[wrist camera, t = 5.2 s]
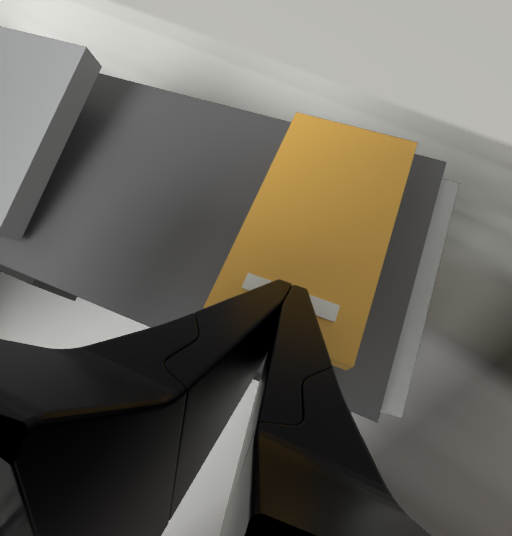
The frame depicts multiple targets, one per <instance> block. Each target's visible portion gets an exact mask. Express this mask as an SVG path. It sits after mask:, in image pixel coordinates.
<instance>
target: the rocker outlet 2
mask: <svg viewBox="0 0 512 536" xmlns="http://www.w3.org/2000/svg"><path fill="white" fill-rule="evenodd" d="M417 143H418V142H414V141H410V140H406V139H402V138H398V137H394V136H390V135H386V134H382V133H377V132H373V131H369V130H365V129H361V128H357V127H353V126H349V125H345V124H341V123H337V122H333V121H329V120H325V119H321V118H317V117H313V116H309V115H305V114H301V113H297V112H296V114H295V116H294V118H293V120H292V122H291V124H290V126H289V129H288V131H287V133H286V135H285V137H284V139H283V141H282V143H281V145H280V148H279V150H278V152H277V154H276V156H275V158H274V160H273V162H272V164H271V166H270V169H269V171H268V173H267V175H266V177H265V179H264V181H263V183H262V185H261V187H260V190H259V192H258V194H257V196H256V198H255V200H254V202H253V204H252V206H251V209H250V211H249V213H248V215H247V217H246V219H245V221H244V223H243V225H242V227H241V230H240V232H239V234H238V236H237V238H236V240H235V242H234V244H233V246H232V248H231V251H230V253H229V255H228V257H227V259H226V261H225V263H224V265H223V267H222V269H221V272H220V274H219V276H218V278H217V280H216V282H215V284H214V286H213V288H212V291H211V293H210V295H209V297H208V299H207V301H206V303H205V305H204V307H203V308H207V307H209V306H212V305H214V304H217V303H219V302H222V301H224V300H227V299H229V298H232V297H234V296H237V295H239V294H242V293H245V292H247V291H250V290H252V289H255V288H257V287H260V286H262V285H265V284H267V283H270V282H272V281H275V280H278V279H281V280H283V281H286V282H289V283H291V284H292V286H293V285H297V286H300V287H303V288H306V289H307V290H308V293H309V296H310V299H311V302H312V305H313V308H314V311H315V314H316V317H317V320H318V323H319V326H320V329H321V332H322V335H323V338H324V341H325V344H326V347H327V350H328V353H329V356H330V359H331V362H332V365H333V366H336V367H338V368H341V369H343V370H348V369H350V368H353V367H354V364H355V360H356V357H357V353H358V350H359V346H360V343H361V339H362V336H363V332H364V329H365V325H366V322H367V318H368V315H369V311H370V308H371V304H372V301H373V297H374V294H375V290H376V287H377V283H378V280H379V276H380V273H381V269H382V266H383V262H384V259H385V255H386V252H387V248H388V245H389V241H390V238H391V234H392V230H393V227H394V223H395V220H396V216H397V213H398V209H399V206H400V202H401V199H402V195H403V192H404V188H405V185H406V181H407V178H408V174H409V171H410V167H411V164H412V160H413V157H414V153H415V150H416V146H417Z"/></svg>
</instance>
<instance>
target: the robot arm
mask: <svg viewBox="0 0 512 536" xmlns="http://www.w3.org/2000/svg"><path fill="white" fill-rule="evenodd" d="M266 355H267V356H266ZM265 357H266V359H265ZM264 359H265V363H264V366H263V370H262V374H261V378H260V381H259V385H258V389H257V393H256V397H255V401H254V405H253V408H252V412H251V416H250V420H249V424H248V428H247V432H246V436H245V439H244V443H243V447H242V451H241V455H240V459H239V463H238V466H237V470H236V474H235V478H234V482H233V486H232V490H231V493H230V497H229V501H228V505H227V509H226V513H225V517H224V520H223V524H222V528H221V532H220V536H431V535H430V534H429V533H428V532H426V531H425V530H424V529H423V528H422V527H421V526H419V525H418V524H417V523H416V522H415V521H414V520H412V519H411V518H410V517H409V516H408V515H407V514H406V513H405V512H404V511H403V510H402V508H401V507H400V506H399V505H398V503H397V502H396V501H395V499H394V498H393V496H392V495H391V493H390V491H389V490H388V488H387V486H386V485H385V483H384V481H383V479H382V477H381V475H380V473H379V471H378V469H377V467H376V465H375V463H374V461H373V458H372V456H371V454H370V452H369V450H368V448H367V446H366V444H365V442H364V440H363V438H362V436H361V434H360V432H359V430H358V427H357V425H356V423H355V421H354V419H353V417H352V415H351V412H350V410H349V408H348V406H347V404H346V401H345V399H344V397H343V394H342V391H341V389H340V386H339V383H338V380H337V377H336V374H335V371H334V369H333V365H332V362H331V359H330V356H329V353H328V350H327V347H326V344H325V341H324V338H323V335H322V332H321V329H320V326H319V323H318V320H317V317H316V314H315V311H314V308H313V305H312V302H311V299H310V296H309V293H308V290H307V289H306V288H303V287H300V286H297V285H293V286H292V284H291V283H289V282H286V281H283V280H281V279H278V280H275V281H272V282H270V283H267V284H265V285H262V286H260V287H257V288H255V289H252V290H250V291H247V292H245V293H242V294H239V295H237V296H234V297H232V298H229V299H227V300H224V301H222V302H219V303H217V304H214V305H212V306H209V307H207V308H204V309H202V310H199V311H196V312H195V314H194V313H191V314H189V315H186V316H184V317H181V318H178V319H175V320H173V321H170V322H167V323H164V324H161V325H158V326H155V327H151V328H148V329H145V330H142V331H138V332H135V333H131V334H127V335H124V336H120V337H117V338H113V339H110V340H106V341H103V342H99V343H96V344H92V345H88V346H84V347H80V348H73V349H50V348H44V347H38V346H33V345H28V344H23V343H18V342H12V341H7V340H2V339H0V536H161V535H162V533H163V531H164V530H165V528H166V526H167V525H168V521H169V520H170V519H171V518H172V516H173V514H174V512H175V511H176V509H177V507H178V506H179V504H180V502H181V500H182V499H183V497H184V495H185V494H186V492H187V490H188V489H189V487H190V485H191V483H192V482H193V480H194V478H195V477H196V475H197V473H198V472H199V470H200V468H201V466H202V465H203V463H204V461H205V460H206V458H207V456H208V454H209V453H210V451H211V449H212V448H213V446H214V444H215V443H216V441H217V439H218V437H219V436H220V434H221V432H222V431H223V429H224V427H225V426H226V424H227V422H228V420H229V419H230V417H231V415H232V414H233V412H234V410H235V409H236V407H237V405H238V403H239V402H240V400H241V398H242V397H243V395H244V393H245V391H246V390H247V388H248V386H249V385H250V383H251V381H252V380H253V378H254V376H255V374H256V373H257V371H258V369H259V368H260V366H261V364H262V362H263V361H264Z"/></svg>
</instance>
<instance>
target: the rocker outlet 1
mask: <svg viewBox="0 0 512 536" xmlns="http://www.w3.org/2000/svg"><path fill="white" fill-rule="evenodd" d="M101 67H102V66H101V65H100V64H99V62H98V61H97V60H96V59H95V57H94V56H93V55H92V54H91V52H90V51H89V50H88V48H87V47H85V46H80V45H76V44H72V43H68V42H64V41H59V40H55V39H51V38H47V37H43V36H39V35H34V34H30V33H26V32H22V31H18V30H13V29H9V28H5V27H1V26H0V236H3V237H6V238H10V239H13V240H17V241H21V239H22V236H23V234H24V232H25V230H26V228H27V226H28V224H29V221H30V219H31V217H32V215H33V213H34V211H35V209H36V206H37V204H38V202H39V200H40V198H41V196H42V194H43V191H44V189H45V187H46V185H47V183H48V181H49V179H50V176H51V174H52V172H53V170H54V168H55V166H56V164H57V161H58V159H59V157H60V155H61V153H62V151H63V149H64V146H65V144H66V142H67V140H68V138H69V136H70V134H71V131H72V129H73V127H74V125H75V123H76V121H77V119H78V116H79V114H80V112H81V110H82V108H83V106H84V104H85V101H86V99H87V97H88V95H89V93H90V91H91V89H92V86H93V84H94V82H95V80H96V78H97V76H98V74H99V71H100V69H101Z"/></svg>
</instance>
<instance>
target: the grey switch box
mask: <svg viewBox="0 0 512 536" xmlns="http://www.w3.org/2000/svg"><path fill="white" fill-rule="evenodd" d="M290 124H291V122H287V121H284V120H280V119H276V118H272V117H268V116H264V115H260V114H256V113H252V112H248V111H244V110H241V109H237V108H233V107H229V106H225V105H221V104H217V103H213V102H209V101H205V100H201V99H197V98H194V97H190V96H186V95H182V94H178V93H174V92H170V91H166V90H162V89H158V88H154V87H151V86H147V85H143V84H139V83H135V82H131V81H127V80H123V79H119V78H115V77H111V76H107V75H104V74H100V73H99V74H98V76H97V78H96V80H95V82H94V84H93V86H92V89H91V91H90V93H89V95H88V97H87V99H86V101H85V104H84V106H83V108H82V110H81V112H80V114H79V116H78V119H77V121H76V123H75V125H74V127H73V129H72V131H71V134H70V136H69V138H68V140H67V142H66V144H65V146H64V149H63V151H62V153H61V155H60V157H59V159H58V161H57V164H56V166H55V168H54V170H53V172H52V174H51V176H50V179H49V181H48V183H47V185H46V187H45V189H44V191H43V194H42V196H41V198H40V200H39V202H38V204H37V206H36V209H35V211H34V213H33V215H32V217H31V219H30V221H29V224H28V226H27V228H26V230H25V232H24V234H23V236H22V239H21V241H17V240H13V239H10V238H6V237H3V236H0V271H1V272H3V273H6V274H8V275H10V276H13V277H15V278H17V279H20V280H22V281H24V282H27V283H29V284H31V285H34V286H37V287H39V288H42V289H45V290H47V291H50V292H52V293H55V294H58V295H60V296H63V297H66V298H68V299H71V300H73V301H75V300H76V298H77V297H80V298H82V299H85V300H87V301H89V302H92V303H94V304H97V305H99V306H101V307H104V308H106V309H108V310H111V311H113V312H116V313H118V314H120V315H123V316H125V317H127V318H130V319H132V320H135V321H137V322H139V323H142V324H144V325H146V326H149V327H155V326H158V325H161V324H164V323H167V322H170V321H173V320H175V319H178V318H181V317H184V316H186V315H189V314H191V313H194V314H195V312H196V311H199V310H202V309H204V308H203V307H204V305H205V303H206V301H207V299H208V297H209V295H210V293H211V291H212V288H213V286H214V284H215V282H216V280H217V278H218V276H219V274H220V272H221V269H222V267H223V265H224V263H225V261H226V259H227V257H228V255H229V253H230V251H231V248H232V246H233V244H234V242H235V240H236V238H237V236H238V234H239V232H240V230H241V227H242V225H243V223H244V221H245V219H246V217H247V215H248V213H249V211H250V209H251V206H252V204H253V202H254V200H255V198H256V196H257V194H258V192H259V190H260V187H261V185H262V183H263V181H264V179H265V177H266V175H267V173H268V171H269V169H270V166H271V164H272V162H273V160H274V158H275V156H276V154H277V152H278V150H279V148H280V145H281V143H282V141H283V139H284V137H285V135H286V133H287V131H288V129H289V126H290ZM445 165H446V162H444V161H440V160H436V159H432V158H428V157H424V156H421V155H417V154H414V157H413V160H412V164H411V167H410V171H409V174H408V178H407V181H406V185H405V188H404V192H403V195H402V199H401V202H400V206H399V209H398V213H397V216H396V220H395V223H394V227H393V230H392V234H391V238H390V241H389V245H388V248H387V252H386V255H385V259H384V262H383V266H382V269H381V273H380V276H379V280H378V283H377V287H376V290H375V294H374V297H373V301H372V304H371V308H370V311H369V315H368V318H367V322H366V325H365V329H364V332H363V336H362V339H361V343H360V346H359V350H358V353H357V357H356V360H355V364H354V367H353V368H350V369H348V370H343V369H341V368H338V367H336V366H333V369H334V371H335V374H336V377H337V380H338V383H339V386H340V389H341V391H342V394H343V397H344V399H345V401H346V404H347V406H348V408H349V410H350V411H351V412H354V413H356V414H358V415H361V416H363V417H365V418H368V419H370V420H373V421H375V422H377V423H378V419H379V415H380V412H383V413H386V414H389V415H392V416H396V417H399V418H402V415H403V411H404V407H405V403H406V398H407V394H408V390H409V386H410V382H411V378H412V374H413V370H414V366H415V362H416V358H417V354H418V349H419V345H420V341H421V337H422V333H423V329H424V325H425V321H426V317H427V313H428V309H429V305H430V300H431V296H432V292H433V288H434V284H435V280H436V276H437V272H438V268H439V264H440V260H441V256H442V251H443V247H444V243H445V239H446V235H447V231H448V227H449V223H450V219H451V215H452V211H453V207H454V202H455V198H456V194H457V190H458V186H459V183H456V182H452V181H448V180H444V179H442V176H443V173H444V169H445ZM266 356H267V355H266ZM265 359H266V357H265ZM265 359H264V361H263V362H262V364H261V366H260V368H259V369H258V371H257V373H256V374H255V376H254V378H253V379H255V380H257V381H260V378H261V374H262V370H263V366H264V363H265Z"/></svg>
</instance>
